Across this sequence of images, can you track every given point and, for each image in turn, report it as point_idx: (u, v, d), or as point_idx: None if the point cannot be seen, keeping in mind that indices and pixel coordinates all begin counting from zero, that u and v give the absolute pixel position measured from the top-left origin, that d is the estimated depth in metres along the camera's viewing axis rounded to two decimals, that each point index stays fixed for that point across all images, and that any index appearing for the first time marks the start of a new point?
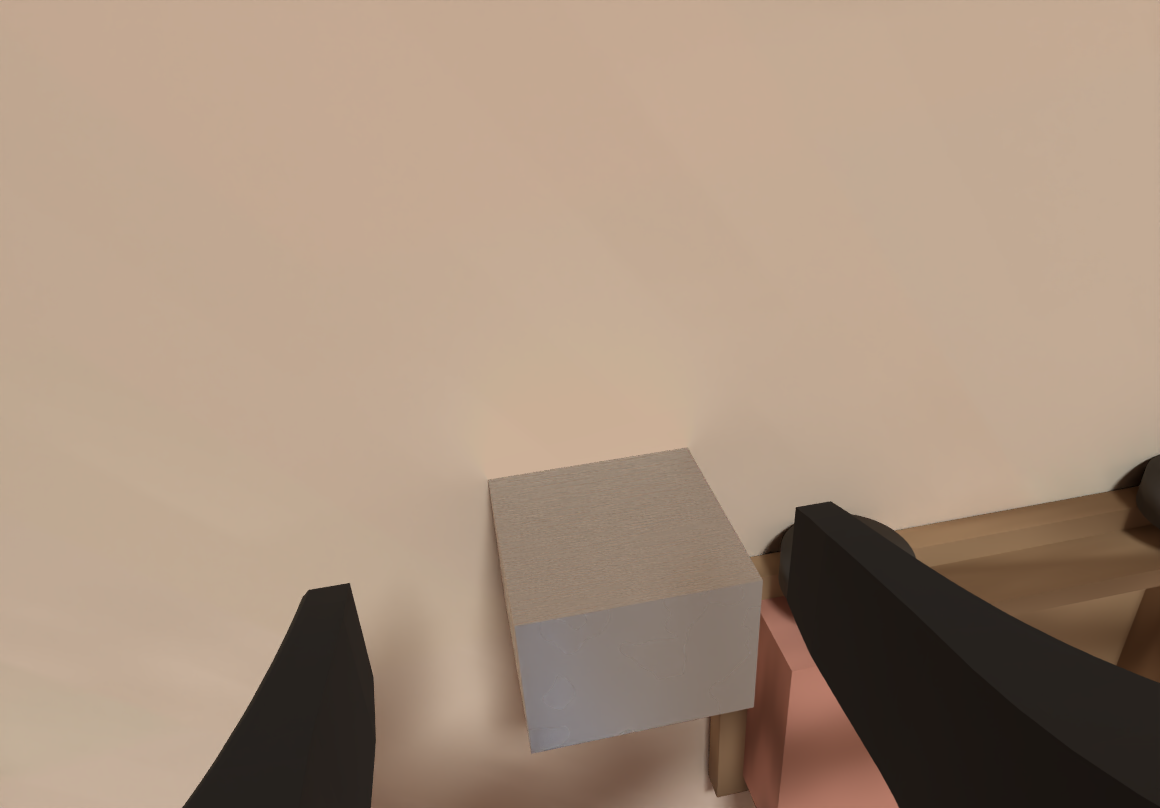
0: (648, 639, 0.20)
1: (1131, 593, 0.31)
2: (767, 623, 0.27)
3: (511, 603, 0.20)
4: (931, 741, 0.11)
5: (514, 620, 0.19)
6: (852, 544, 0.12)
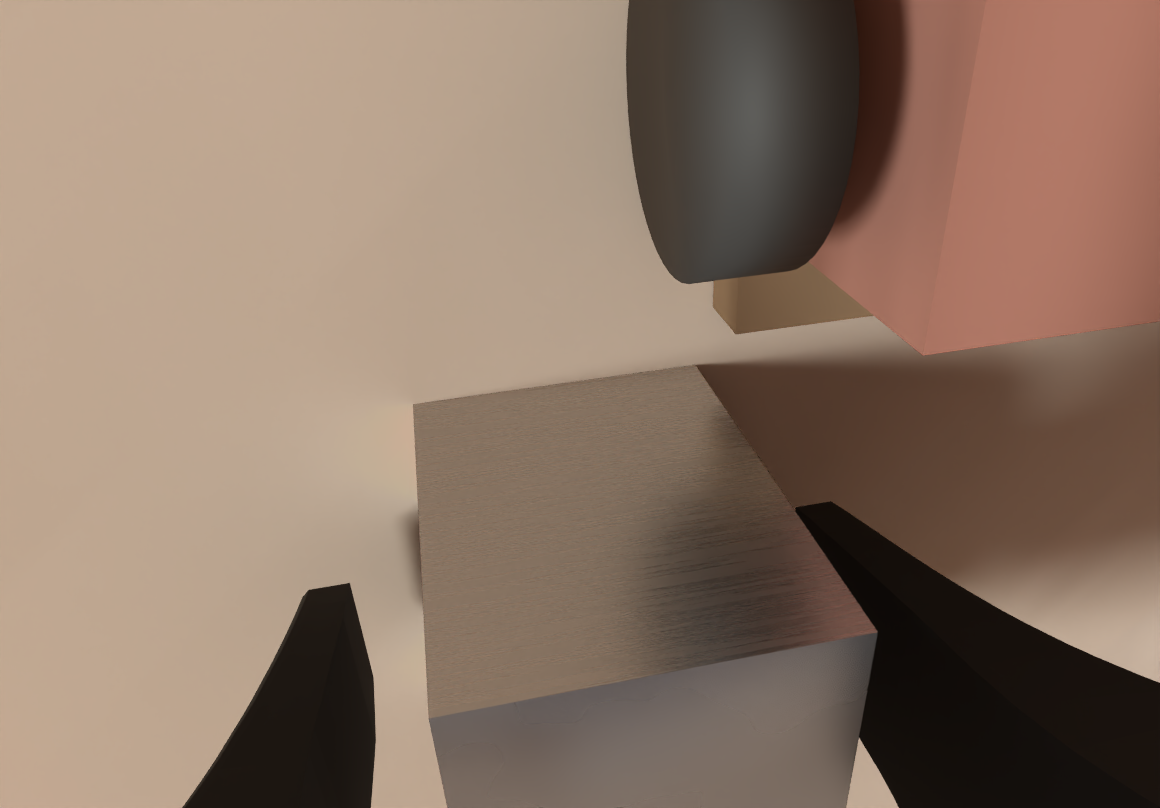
0: None
1: None
2: (840, 285, 0.11)
3: None
4: (930, 741, 0.11)
5: None
6: (852, 544, 0.12)
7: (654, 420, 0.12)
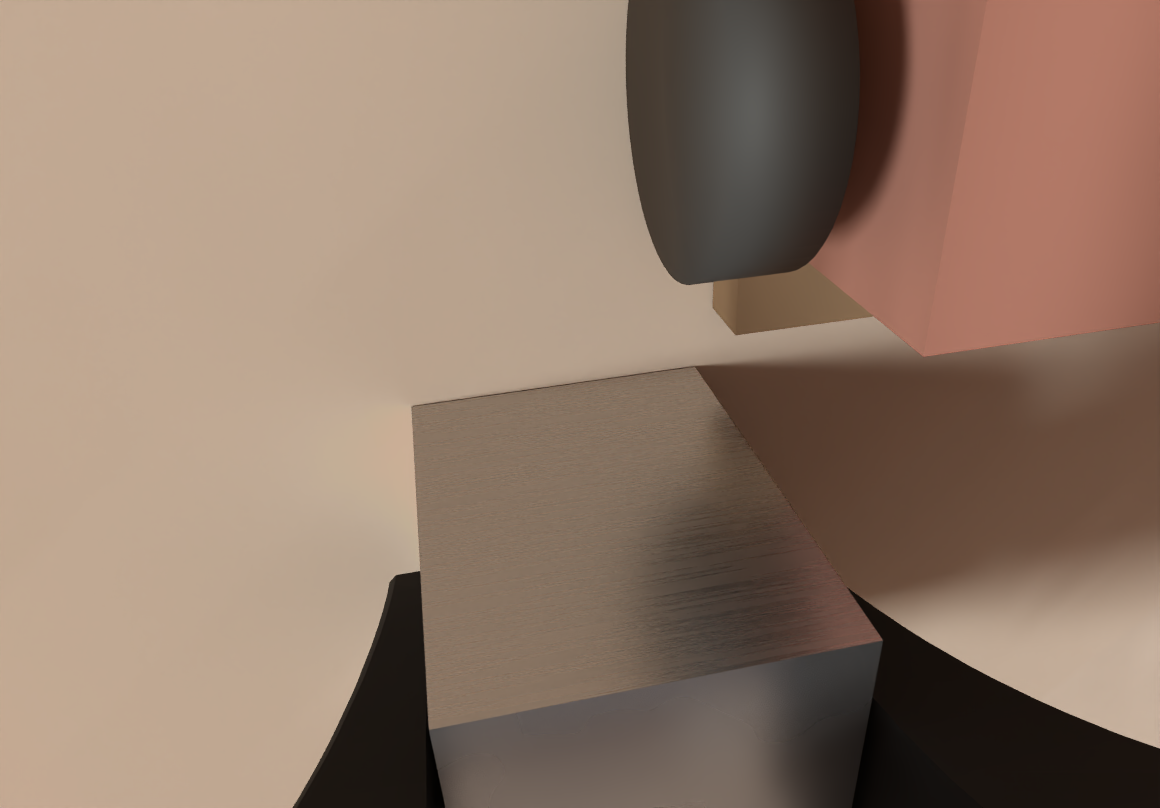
0: None
1: None
2: (840, 286, 0.11)
3: None
4: None
5: None
6: None
7: (655, 424, 0.12)
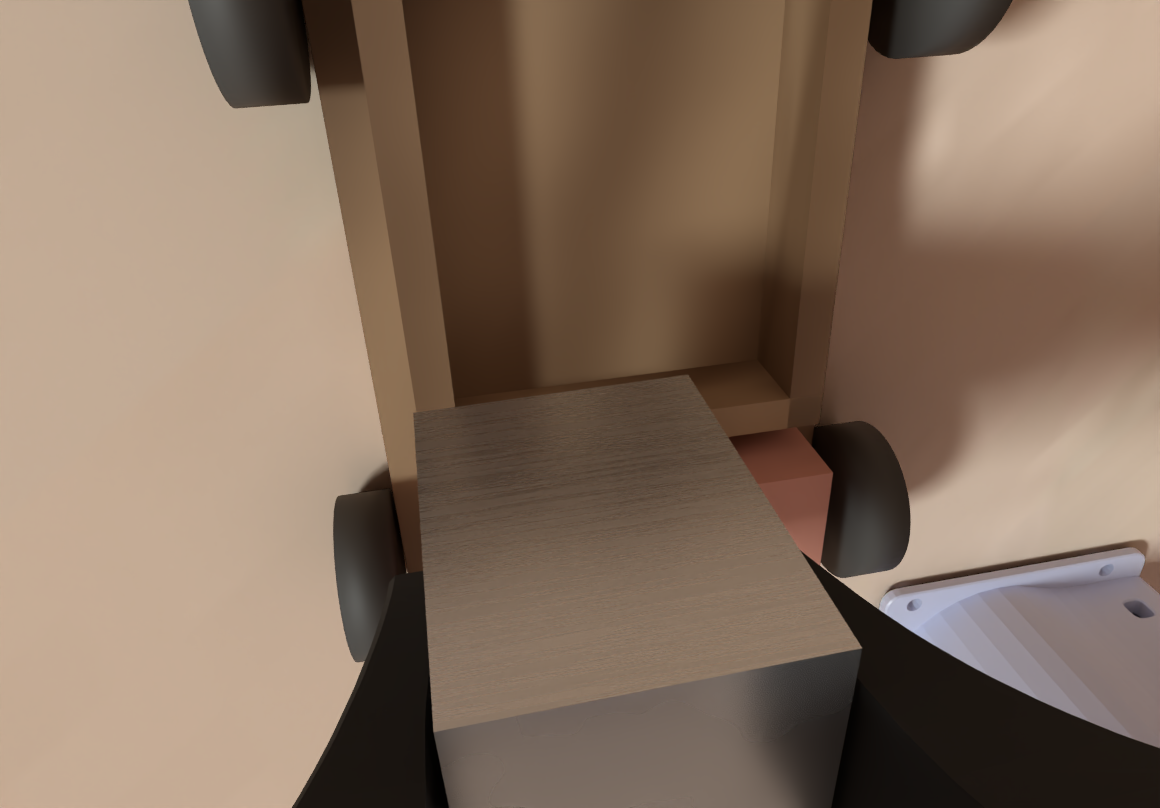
0: None
1: None
2: None
3: None
4: None
5: None
6: None
7: (648, 432, 0.12)
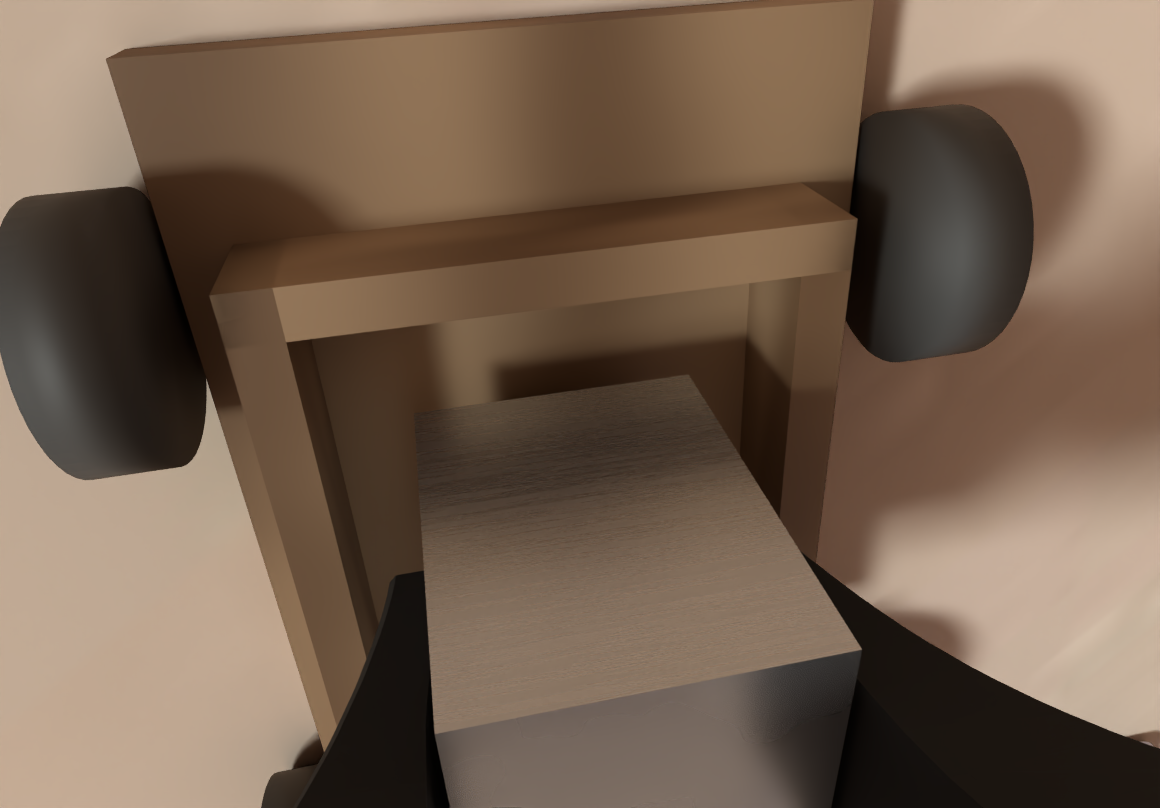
0: None
1: None
2: None
3: None
4: None
5: None
6: None
7: (649, 433, 0.12)
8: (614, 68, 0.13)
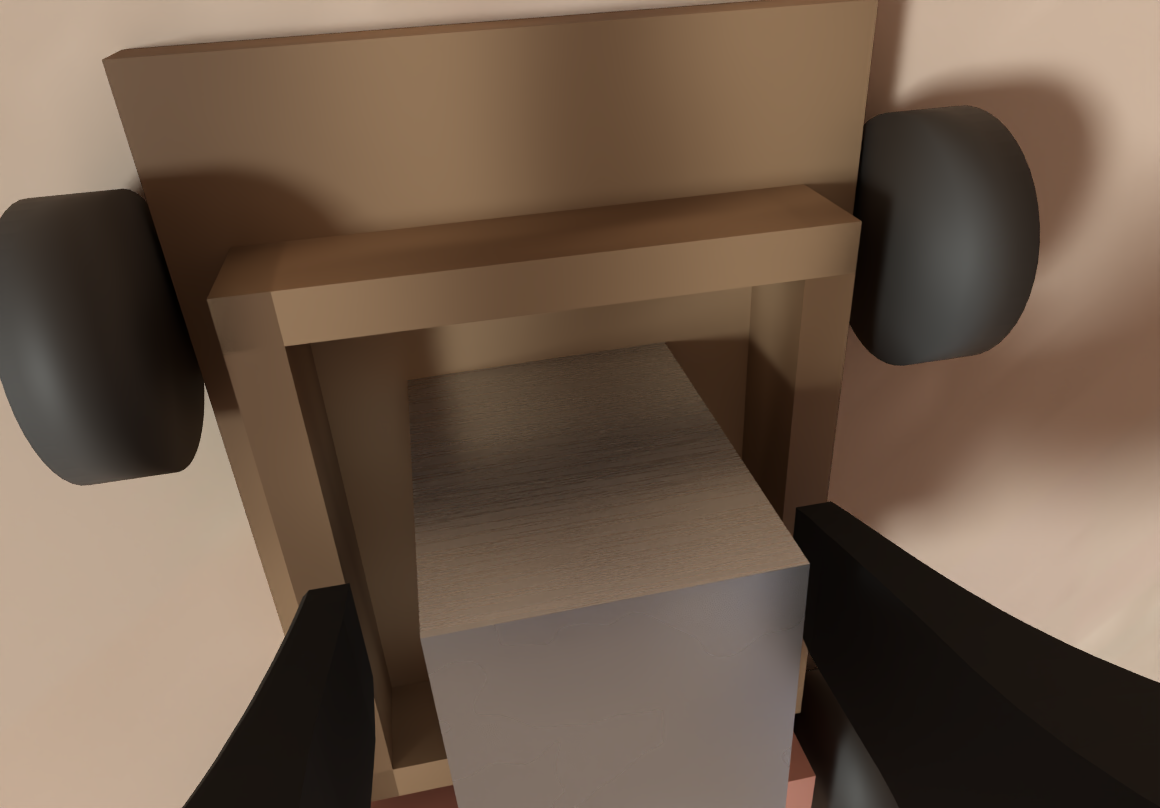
0: (553, 778, 0.11)
1: None
2: None
3: None
4: (931, 741, 0.11)
5: None
6: (852, 544, 0.12)
7: (625, 392, 0.13)
8: (615, 69, 0.12)
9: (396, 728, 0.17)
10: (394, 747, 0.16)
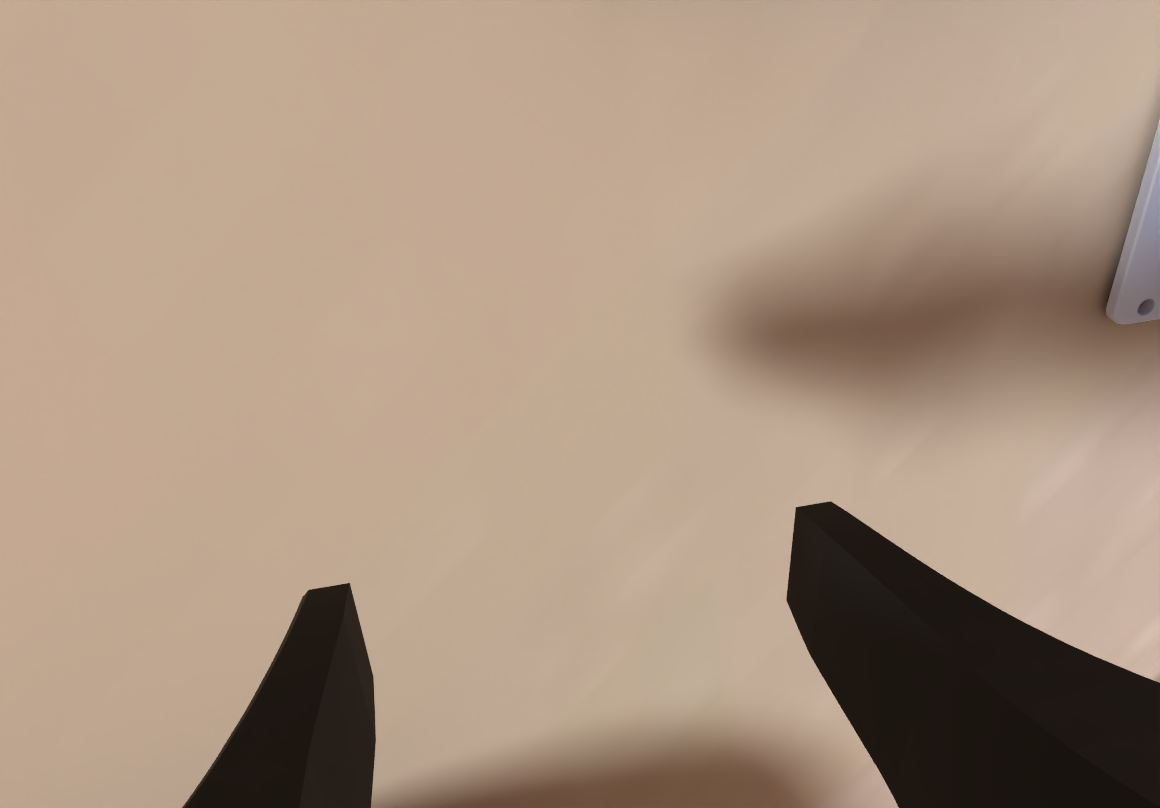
0: None
1: None
2: None
3: None
4: (930, 741, 0.11)
5: None
6: (852, 544, 0.12)
7: None
8: None
9: None
10: None
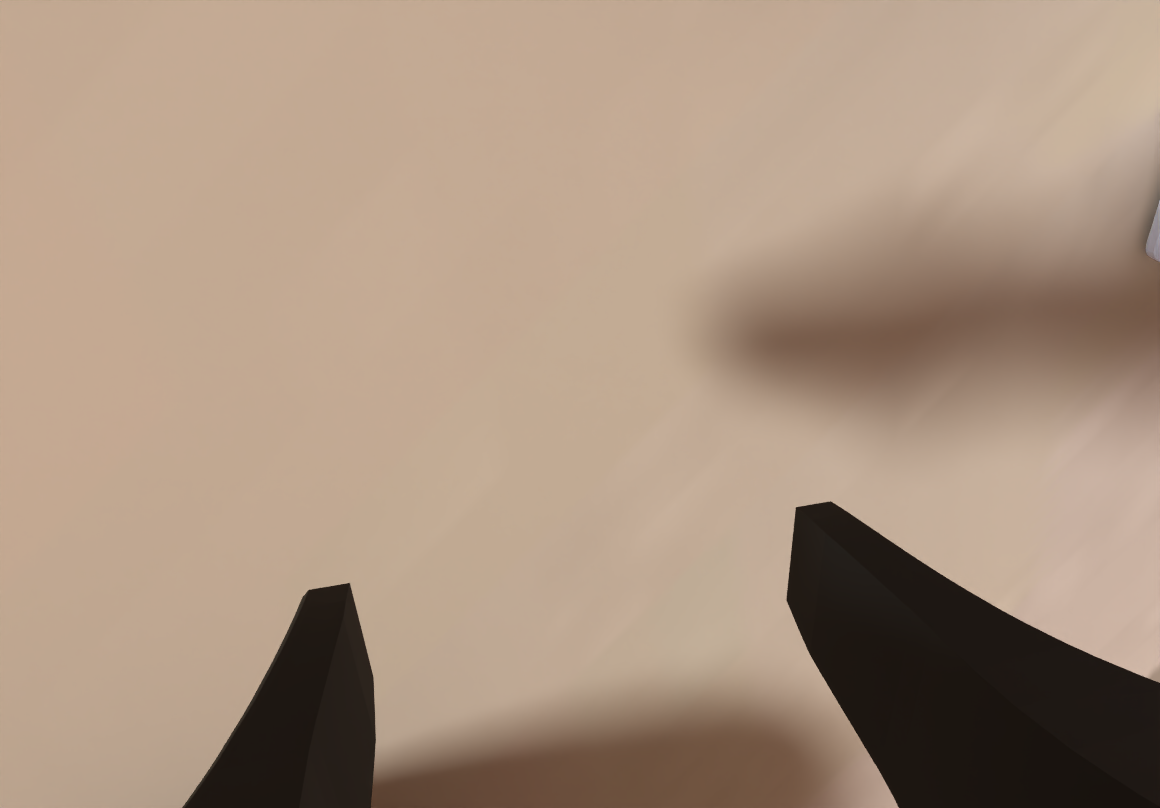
0: None
1: None
2: None
3: None
4: (930, 741, 0.11)
5: None
6: (852, 544, 0.12)
7: None
8: None
9: None
10: None
